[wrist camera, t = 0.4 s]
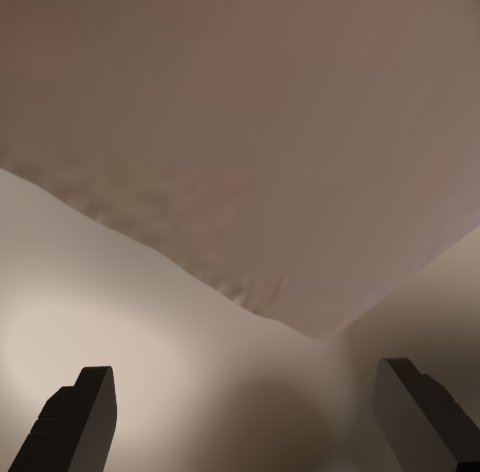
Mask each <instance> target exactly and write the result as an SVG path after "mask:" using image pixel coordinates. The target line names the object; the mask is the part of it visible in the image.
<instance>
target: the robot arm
mask: <svg viewBox="0 0 480 472" xmlns="http://www.w3.org/2000/svg"><path fill="white" fill-rule="evenodd" d="M372 407H373V412H374V416H375V419H376V421H377V423H378V425H379V427H380V429H381V430H382V432H383V434H384V436H385V438H386V440H387V442H388V444H389V446H390V448H391V449H392V451H393V453H394V455H395V457H396V459H397V461H398V463H399V465H400V466H401V468H402V470H403V472H480V430H479V428H478V427H477V426H476V425H475V424H474V422H473V421H472V420H471V419H470V418H469V416H468V415H465V412H464V410H463V409H462V408H461V407H460V406H459V405H458V403H455V400H454V398H453V397H452V396H451V395H450V394H449V393H448V391H447V390H446V389H445V388H444V386H442V385H441V384H440V383H438V382H437V381H435V380H434V379H432V378H431V377H430V376H428V375H427V374H420V372H419V371H418V370H417V369H416V367H415V366H414V365H413V364H412V362H411V361H410V360H409V359H408V358H404V357H400V358H381V359H380V360H379V362H378V367H377V373H376V378H375V384H374V390H373V397H372ZM116 421H117V404H116V395H115V386H114V377H113V370H112V367H111V366H100V367H84V368H83V369H82V370H81V373H80V374H79V376H78V379H77V380H76V383H75V385H74V386H65V387H61V388H60V389H59V390H58V391H57V392H56V393H55V394H54V395H53V396H52V397H51V398H49V399H48V400H47V402H46V404H45V405H44V407H43V409H42V411H41V413H40V415H39V416H38V420H36V422H35V423H34V425H33V427H32V429H31V432H30V434H28V436H27V438H26V440H25V442H24V443H23V445H22V447H21V449H20V451H19V452H18V454H17V456H16V458H15V459H14V461H13V463H12V465H11V467H10V468H9V470H8V472H103V470H104V466H105V463H106V460H107V456H108V453H109V449H110V446H111V442H112V439H113V436H114V432H115V428H116Z"/></svg>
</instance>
